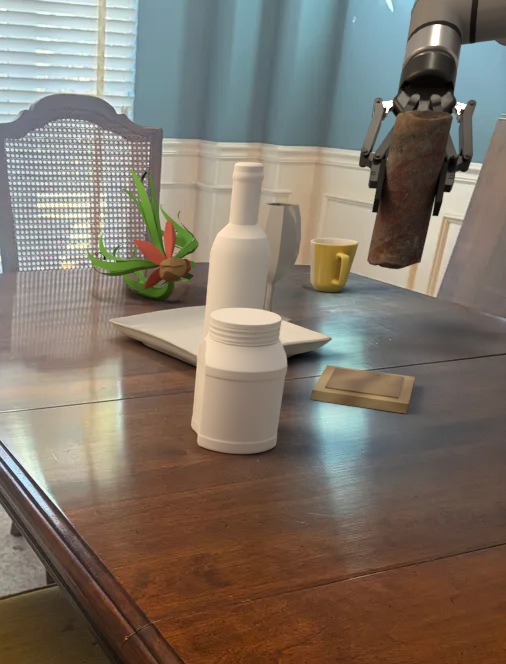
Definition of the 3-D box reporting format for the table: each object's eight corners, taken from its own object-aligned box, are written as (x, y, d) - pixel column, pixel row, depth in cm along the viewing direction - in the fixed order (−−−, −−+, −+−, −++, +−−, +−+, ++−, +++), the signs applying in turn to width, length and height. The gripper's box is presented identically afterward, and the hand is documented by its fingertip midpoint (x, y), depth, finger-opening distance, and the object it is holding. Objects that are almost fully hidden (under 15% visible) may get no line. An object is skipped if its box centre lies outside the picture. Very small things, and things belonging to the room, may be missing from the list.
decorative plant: (136, 341, 154) (79, 303, 177) (244, 306, 160) (175, 273, 183) (117, 205, 138) (58, 182, 161) (238, 171, 144) (164, 154, 167)
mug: (301, 284, 179) (308, 236, 174) (346, 286, 178) (354, 238, 173) (307, 297, 168) (315, 246, 162) (355, 299, 167) (364, 248, 161)
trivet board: (413, 386, 116) (415, 375, 115) (406, 414, 105) (409, 402, 104) (325, 374, 120) (327, 363, 119) (310, 399, 109) (312, 388, 109)
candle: (427, 267, 112) (460, 110, 103) (412, 275, 107) (446, 111, 97) (375, 261, 116) (402, 109, 106) (359, 268, 111) (385, 110, 101)
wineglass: (234, 322, 147) (246, 203, 137) (262, 315, 152) (276, 200, 142) (270, 331, 142) (286, 208, 131) (299, 324, 147) (316, 205, 136)
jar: (188, 419, 102) (197, 303, 94) (260, 420, 102) (275, 304, 95) (201, 454, 92) (213, 328, 84) (280, 454, 92) (299, 329, 85)
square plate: (207, 382, 115) (209, 356, 113) (105, 339, 135) (106, 316, 133) (331, 356, 128) (335, 333, 126) (222, 320, 148) (224, 300, 146)
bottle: (224, 408, 106) (249, 166, 91) (186, 392, 111) (204, 161, 96) (265, 397, 110) (295, 164, 95) (226, 382, 115) (249, 160, 100)
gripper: (497, 95, 111) (478, 230, 106) (353, 92, 116) (328, 221, 111) (513, 49, 104) (493, 192, 98) (358, 48, 109) (332, 184, 104)
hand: (406, 207), depth 105 cm, fingers closed on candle, 7 cm apart
